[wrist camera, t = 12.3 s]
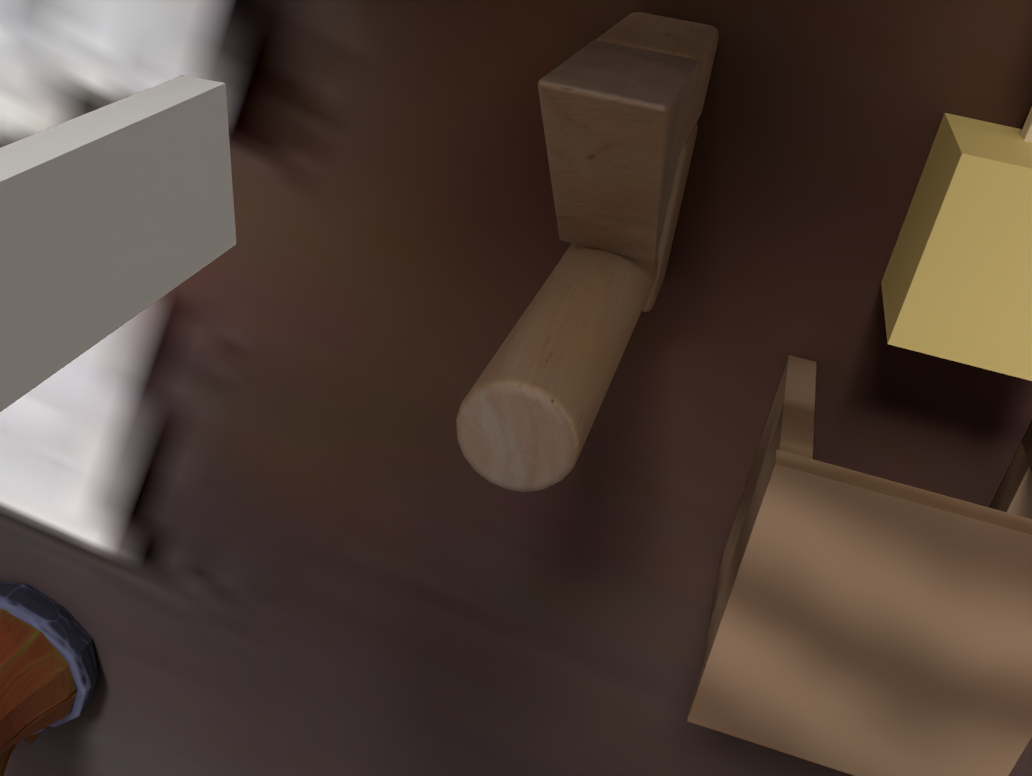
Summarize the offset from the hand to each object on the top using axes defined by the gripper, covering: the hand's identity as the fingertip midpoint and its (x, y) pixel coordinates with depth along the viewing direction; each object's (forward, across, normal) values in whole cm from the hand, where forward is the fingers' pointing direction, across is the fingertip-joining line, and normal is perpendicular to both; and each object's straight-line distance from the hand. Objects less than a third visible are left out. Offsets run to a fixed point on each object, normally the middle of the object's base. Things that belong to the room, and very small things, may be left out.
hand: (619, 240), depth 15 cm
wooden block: (+26, -3, -7) cm, 27 cm away
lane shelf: (+25, +10, -21) cm, 34 cm away
